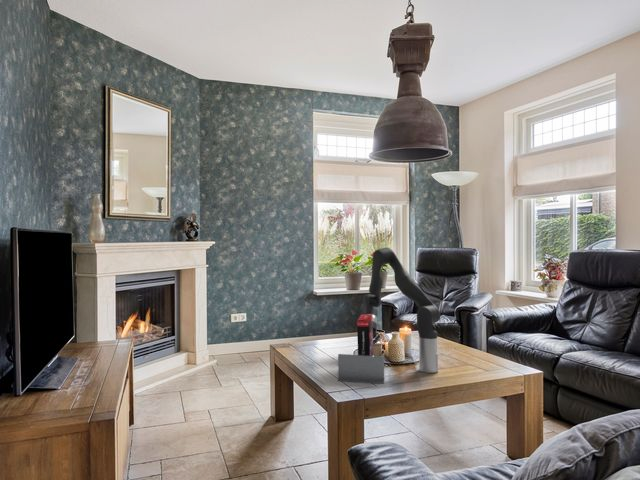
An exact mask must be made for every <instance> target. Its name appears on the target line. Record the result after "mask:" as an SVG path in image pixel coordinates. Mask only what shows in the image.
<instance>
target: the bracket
mask: <svg viewBox="0 0 640 480" xmlns="http://www.w3.org/2000/svg"><path fill="white" fill-rule="evenodd" d="M337 355H338V357H337V364H338V367H337V368H338V370H337V372H338V373H337V376H338V378H337V381H336V382H344V383H345V382H346V383H362V384H377V385H378V384H379V385H385V356H384V355H373V356H372V355H358V354H349V353H348V354H347V353H338V354H337Z"/></svg>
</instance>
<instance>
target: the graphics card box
mask: <svg viewBox="0 0 640 480" xmlns="http://www.w3.org/2000/svg"><path fill="white" fill-rule="evenodd" d="M356 332H357V336H356V337H357V355H372V356H374V345H373V340H374V339H373V324H372V315H365V314H360V315H359V318H357V319H356Z"/></svg>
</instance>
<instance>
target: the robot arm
mask: <svg viewBox="0 0 640 480" xmlns="http://www.w3.org/2000/svg"><path fill="white" fill-rule="evenodd" d="M371 264H372V265H371V267H372V268H371V279H370V283H369V284H370V285H369V288H368V292H369V293H368V294H365V295H364V296H363V300H362V301H363V305H364V310H365V312H364V315H372V324H373V344H375V343H376V344H377V343H378V342H379V341H380V340H381V334H380V335H379V334H378V331H377V330H378V309H377V308H380V306H381V305H382V297H381V295H382V294H381V293H382V289H383V285H384V279H383V277H382V274H381V269H382V266H385V265H389V266H390V267H391V268H392V270H393V273H394V283H395V285H396V287H397V288H398V289H399V291H400V292H401V294H402V295H404V296H405V297H407V298H408V299H409V300H410V301H413V302H414V303H415V304H417V306H418V310H417V311H416V327H417V329H416V330H417V332H418V351H419V353H418V354H419V355H418V359H419V360H418V362H419V363H418V364H419V365H418V369H419V372H422V373H427V374H428V373H429V374H433V373H439V356H438V355H439V353H438V348H439V347H438V331H436V330H435V329H434V328H433V324H434V323H438V322H439V321H440V320H441V318H442V317H441V311H440V309H439V308H438V307H437V305H436V304H435V303H433V301H432V300H431V299H430V298H429V297H428V296H427V295H426V293H425V292H424V291H423V290H422V289H421V287H420V286H419V284H418V283H417V282H416V281H415V279H414V278H413V277H412V276H411V274H410V273H409V272H408V270H407V269H406V268H405V267H404V266H403V264H402V262H401V261H400V260H399V258H398V256H397V255H396V253H395V252H394V250H393V249H392V248H390V247H383V248H379V249H376V250H374V252H373V254H372V263H371ZM376 344H375V345H376Z"/></svg>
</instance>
